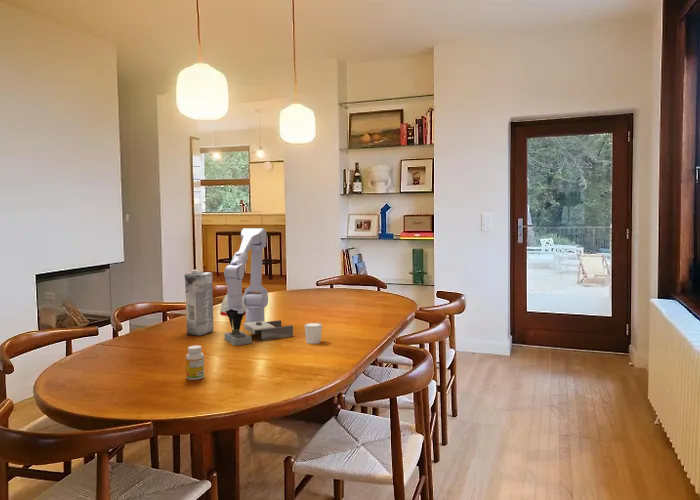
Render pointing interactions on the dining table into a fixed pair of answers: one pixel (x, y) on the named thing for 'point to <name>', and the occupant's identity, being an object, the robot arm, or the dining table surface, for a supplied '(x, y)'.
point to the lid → (257, 326)
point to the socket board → (238, 338)
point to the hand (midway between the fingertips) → (235, 328)
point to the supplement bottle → (194, 363)
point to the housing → (275, 331)
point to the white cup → (313, 333)
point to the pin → (234, 329)
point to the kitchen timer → (224, 303)
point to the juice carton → (199, 302)
